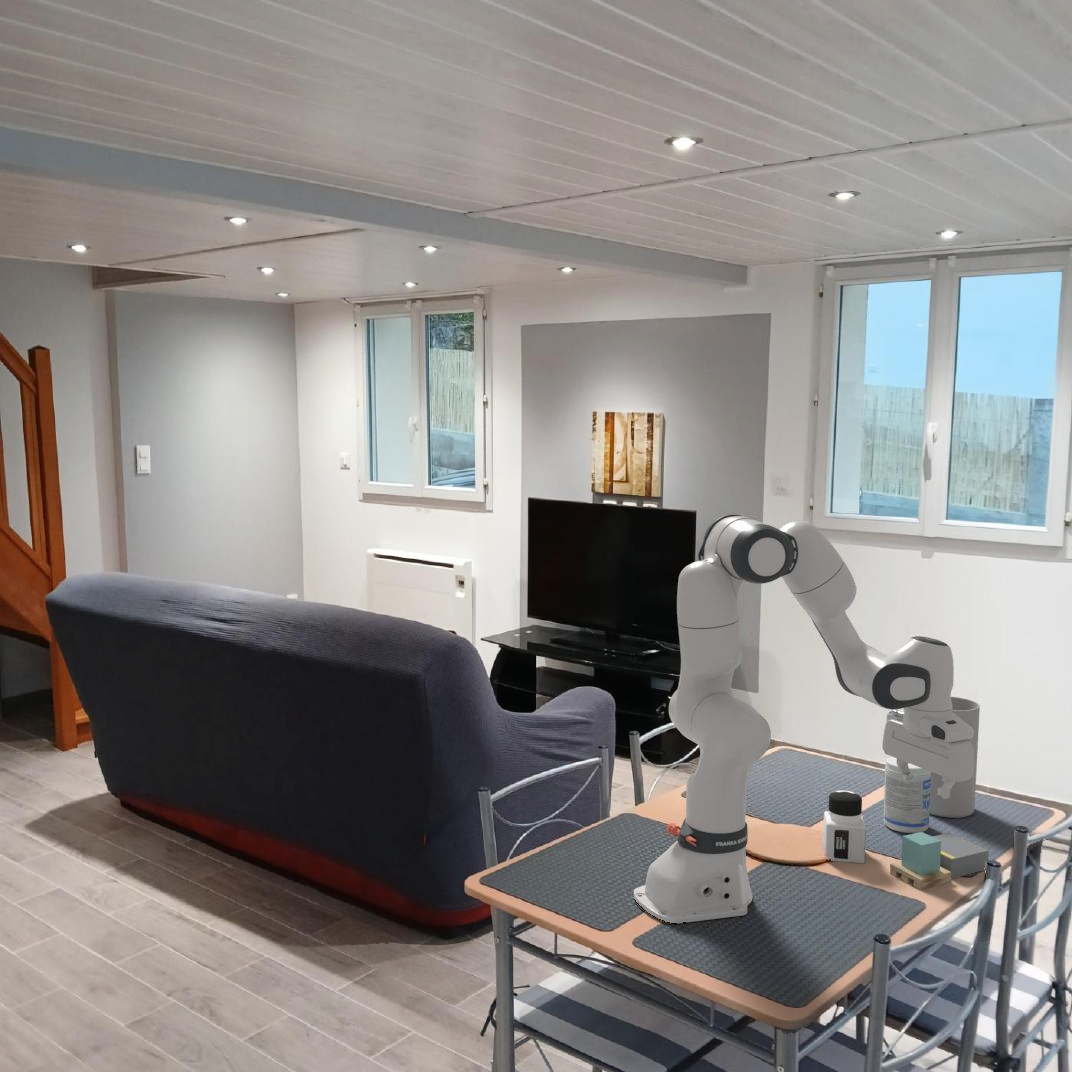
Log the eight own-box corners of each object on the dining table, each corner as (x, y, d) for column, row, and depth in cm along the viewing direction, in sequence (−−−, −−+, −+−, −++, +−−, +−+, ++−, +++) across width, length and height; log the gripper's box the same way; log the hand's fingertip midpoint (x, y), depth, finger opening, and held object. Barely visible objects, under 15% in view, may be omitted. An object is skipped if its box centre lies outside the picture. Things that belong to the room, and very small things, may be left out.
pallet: (920, 889, 203) (920, 879, 202) (889, 873, 210) (890, 863, 209) (951, 881, 206) (951, 872, 206) (919, 866, 213) (920, 856, 213)
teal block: (920, 875, 204) (921, 845, 204) (901, 865, 209) (902, 836, 208) (939, 870, 206) (941, 840, 206) (920, 860, 211) (921, 831, 210)
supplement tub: (932, 836, 228) (935, 770, 227) (887, 833, 230) (889, 767, 228) (923, 819, 238) (926, 756, 236) (879, 817, 239) (882, 753, 238)
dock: (950, 879, 207) (951, 858, 207) (912, 859, 216) (913, 840, 216) (987, 869, 212) (988, 850, 211) (948, 851, 221) (949, 832, 220)
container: (864, 864, 214) (867, 802, 213) (825, 860, 216) (827, 799, 214) (861, 848, 222) (863, 788, 220) (822, 845, 223) (824, 786, 222)
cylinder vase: (979, 806, 246) (984, 701, 243) (967, 823, 236) (973, 713, 233) (923, 795, 253) (928, 693, 250) (910, 811, 243) (914, 705, 240)
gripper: (875, 708, 212) (873, 775, 214) (956, 736, 194) (953, 809, 195) (899, 705, 215) (897, 771, 217) (981, 731, 197) (978, 803, 198)
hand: (924, 789), depth 206 cm, fingers open, 8 cm apart
